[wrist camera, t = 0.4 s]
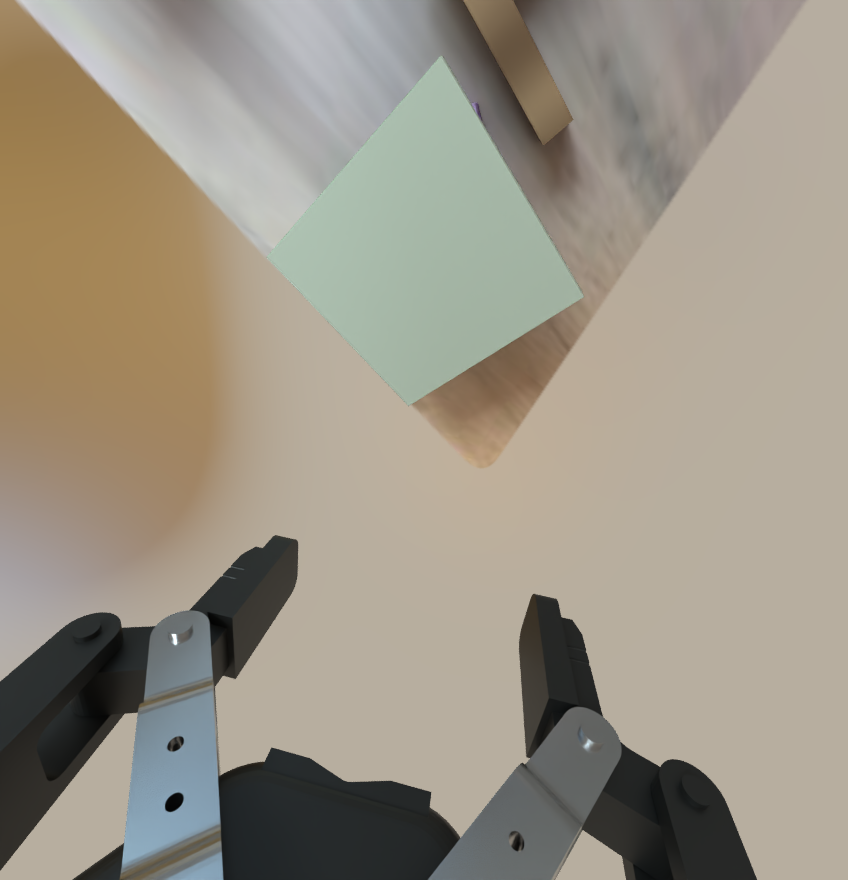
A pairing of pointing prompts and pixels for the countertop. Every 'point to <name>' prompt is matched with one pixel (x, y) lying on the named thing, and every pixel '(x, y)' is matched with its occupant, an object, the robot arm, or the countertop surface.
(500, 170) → the wall shelf
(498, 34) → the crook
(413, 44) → the countertop surface
